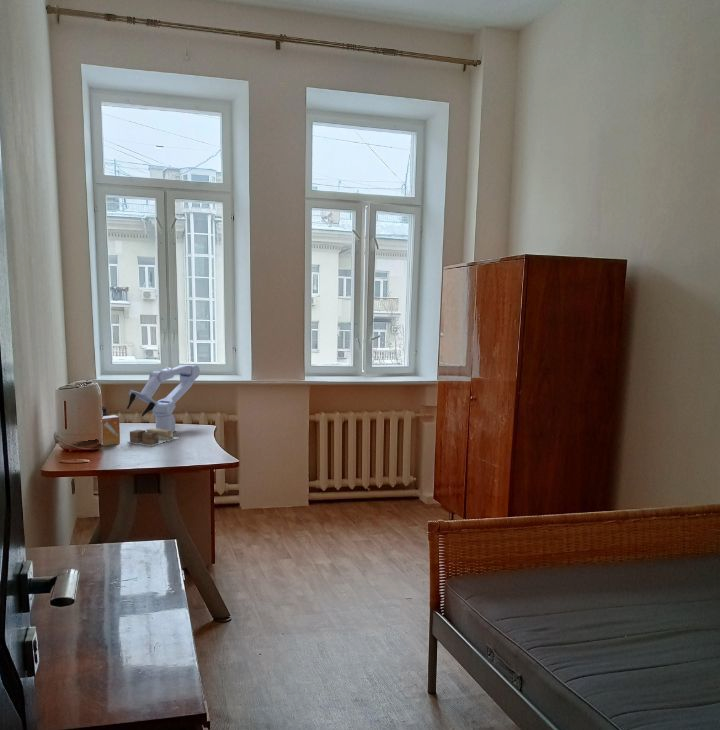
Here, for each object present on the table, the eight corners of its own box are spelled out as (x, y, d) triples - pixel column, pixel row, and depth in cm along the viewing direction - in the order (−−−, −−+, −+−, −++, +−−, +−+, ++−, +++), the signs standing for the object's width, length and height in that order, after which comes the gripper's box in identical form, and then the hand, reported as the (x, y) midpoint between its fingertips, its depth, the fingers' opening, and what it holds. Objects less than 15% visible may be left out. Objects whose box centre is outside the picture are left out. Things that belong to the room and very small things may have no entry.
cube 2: (150, 441, 270) (150, 431, 270) (158, 442, 268) (158, 431, 268) (142, 443, 266) (142, 433, 265) (150, 444, 264) (150, 434, 263)
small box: (102, 446, 262) (101, 418, 261) (98, 444, 267) (96, 416, 265) (120, 443, 268) (119, 416, 266) (115, 441, 272) (114, 414, 271)
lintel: (152, 435, 282) (152, 427, 282) (172, 438, 277) (172, 430, 276) (146, 437, 279) (146, 429, 278) (167, 439, 273) (166, 431, 273)
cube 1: (138, 439, 274) (137, 429, 273) (145, 440, 272) (145, 430, 271) (130, 441, 269) (129, 431, 269) (137, 442, 267) (137, 432, 266)
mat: (154, 435, 286) (154, 434, 286) (179, 438, 279) (179, 437, 279) (127, 442, 269) (126, 441, 269) (152, 446, 263) (152, 445, 263)
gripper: (136, 379, 277) (122, 401, 268) (164, 393, 280) (150, 415, 271) (134, 386, 282) (120, 407, 274) (161, 399, 285) (148, 421, 276)
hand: (135, 411), depth 273 cm, fingers open, 7 cm apart
